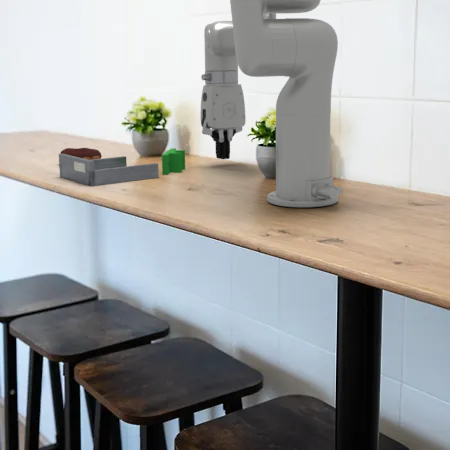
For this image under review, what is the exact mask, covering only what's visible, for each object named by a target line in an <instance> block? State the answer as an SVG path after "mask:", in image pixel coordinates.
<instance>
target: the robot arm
mask: <svg viewBox="0 0 450 450" xmlns="http://www.w3.org/2000/svg"><path fill="white" fill-rule="evenodd" d="M320 3H321V0H229V4H230V13H231V20H218V21H214V22H211V23H208V24H206V25H205V27H204V35H203V36H204V37H203V38H204V74H202V75H201V76H200V77H201V81H204V83H205V84H204V85H203V87H202V92H201V100H200V124H201V126H200V127H202V131H201V133H202V134H203V135H206V136H210V137H211V138H212V140H213V142H215V155H216V156H215V157H216V159H219V160H229V159H230V156H231V155H230V154H231V142H232V141H233V137H234V136H235V135H236V134H237V133H240V132H242V131H243V127H244V126H245V125H246V104H245V97H244V91H243V88H242V84H239V70H240V72H242V73H243V74H244V75H246V76H248V77H254V78H255V77H256V78H262V77H264V78H266V77H267V78H268V77H288V79H287V81H286V82H285V84H284V86H283V87H282V88H281V90H280V92H279V94H278V96H277V98H276V99H277V100H276V103H275V190H274V191H271V192H269V193H268V194H267V196H266V199H267V202H268V203H270V204H271V205H276V206H280V207H288V208H321V207H326V206H332V205H334V204H336V203H338V201H339V196H340V195H341V194H343V188H342V186H337V185H334V177H331V176H330V175H331V174H330V172H331V170H330V167H331V165H330V164H331V113H332V112H331V111H332V106H331V105H332V89H333V88H332V86H333V80H334V79H333V78H334V77H333V76H334V70H335V65H336V60H337V55H338V48H339V47H338V46H339V41H338V36H337V33H336V30H335V29H334V27H332V25H331V24H330V23H328V22H327V21H324V20H321V19H318V18H317V19H316V18H306V17H305V18H304V17H303V18H299V17H298V18H295V17H294V18H293V17H291V18H287V17H286V18H277V14H302V13H308V12H311V11H313V10H315V9H317V7H318V6H319V5H320Z"/></svg>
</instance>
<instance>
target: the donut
mask: <svg viewBox="0 0 450 450" xmlns="http://www.w3.org/2000/svg"><path fill="white" fill-rule="evenodd" d="M59 154H66V155H70V156H75V157H79V158H83V159H87V160H94V159H102V153H101V152H100V150H98V149H96V148H89V147H80V148H74V147H73V148H71V147H68V148H64V149H62V150H61V151H60V153H59Z"/></svg>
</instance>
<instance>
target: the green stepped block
mask: <svg viewBox="0 0 450 450" xmlns="http://www.w3.org/2000/svg"><path fill="white" fill-rule="evenodd" d="M161 164H162V165H161V166H162V170H161V171H162V172H161V173H162V175H163V176H164V175H165V176H167V175H169V174H170V172H174V173H183V170H186V150H185V149H180V150H179V149H177V148H175V147H174V148H169V150H167V151H166V152H164V153H162V155H161Z"/></svg>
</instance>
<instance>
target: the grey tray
mask: <svg viewBox="0 0 450 450" xmlns="http://www.w3.org/2000/svg"><path fill="white" fill-rule="evenodd" d="M58 164H59V178H63V179H67V180H69V181H73V182H75V183H79V184H83V185H86V186H89V187H90V186H91V187H95V186H96V187H97V186H103V185H109V184H117V183H126V182H135V181H141V180H149V179H157V178H159V163H158V162H153V163H144V164H138V165H128V164H127V156H123V155H122V156H112V157H107V158H105V157H104V158H101V159H94V160H87V159H83V158H79V157H75V156H70V155H66V154H60V153H58ZM127 165H128V166H127Z"/></svg>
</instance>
